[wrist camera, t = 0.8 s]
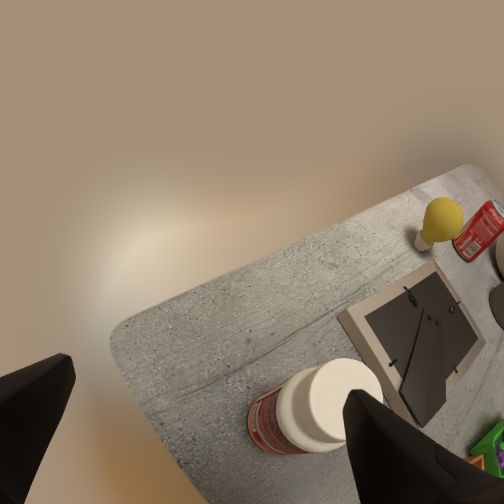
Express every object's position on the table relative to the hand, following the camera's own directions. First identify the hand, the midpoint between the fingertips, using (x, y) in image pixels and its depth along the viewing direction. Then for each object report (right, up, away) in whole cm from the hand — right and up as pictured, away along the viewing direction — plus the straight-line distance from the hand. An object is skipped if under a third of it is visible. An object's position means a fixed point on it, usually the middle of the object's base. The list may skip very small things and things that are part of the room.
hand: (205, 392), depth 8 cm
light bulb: (+29, +5, +37) cm, 47 cm away
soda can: (+42, +5, +41) cm, 59 cm away
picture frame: (+23, -7, +26) cm, 35 cm away
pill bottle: (+4, -11, +16) cm, 19 cm away
